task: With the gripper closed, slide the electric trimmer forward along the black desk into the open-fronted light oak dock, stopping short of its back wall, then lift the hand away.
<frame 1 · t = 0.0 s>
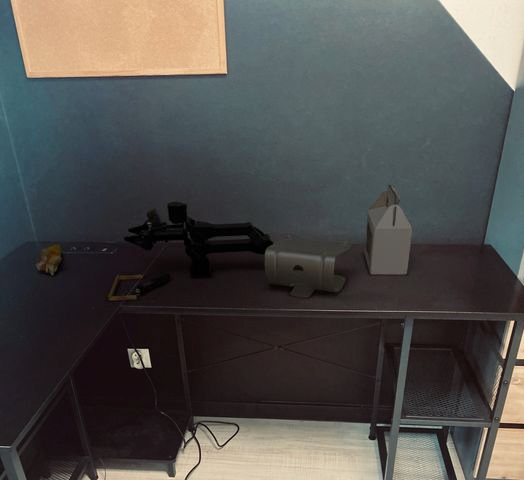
hand: (126, 234, 189), 17 cm above the table, tool horizontal, fingers open, 9 cm apart
gable box: (384, 264, 204), on the table
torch: (55, 265, 210), on the table
dock: (127, 288, 189), on the table
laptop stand: (307, 285, 189), on the table
electric trimmer: (152, 287, 189), on the table
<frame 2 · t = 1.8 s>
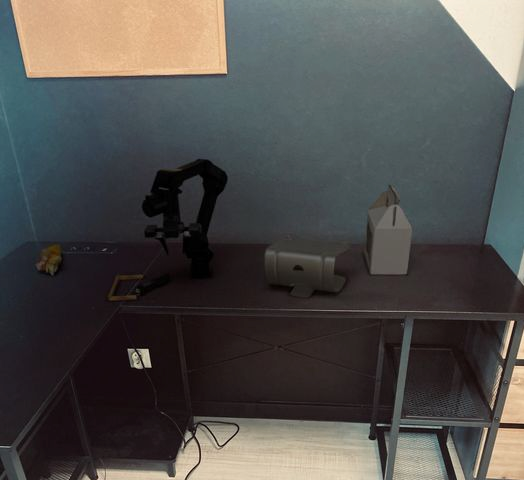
hand: (175, 254, 184), 12 cm above the table, tool pointing down, fingers open, 5 cm apart
nothing on the table moved.
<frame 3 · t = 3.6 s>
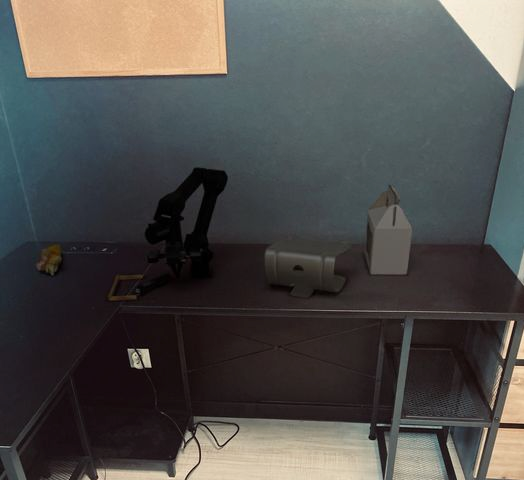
hand: (177, 278, 188), 3 cm above the table, tool pointing down, fingers closed
nothing on the table moved.
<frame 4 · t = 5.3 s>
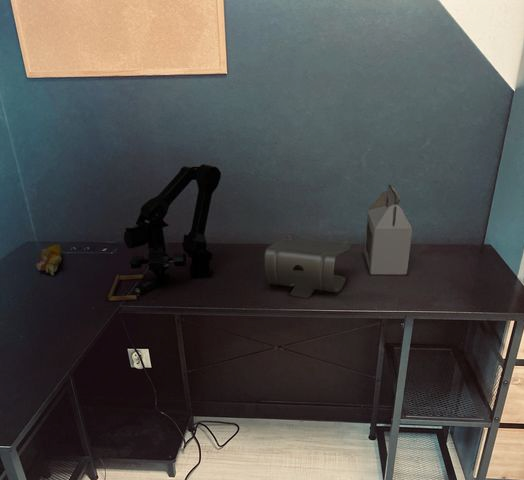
hand: (161, 283, 189), 1 cm above the table, tool pointing down, fingers closed
electric trimmer: (152, 287, 189), on the table, touching gripper
everything else where it was.
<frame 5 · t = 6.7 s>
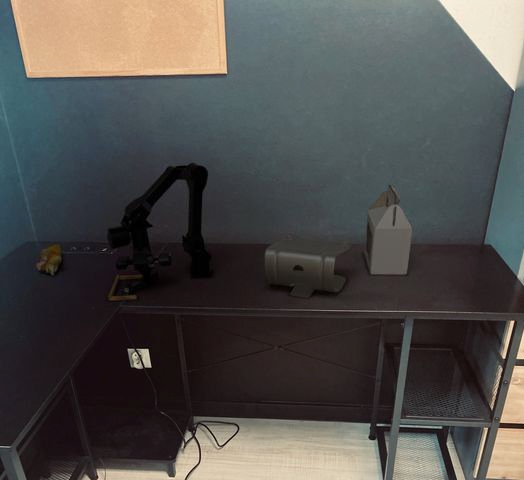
hand: (148, 283, 189), 1 cm above the table, tool pointing down, fingers closed
electric trimmer: (141, 287, 190), on the table, touching gripper
everything else where it was.
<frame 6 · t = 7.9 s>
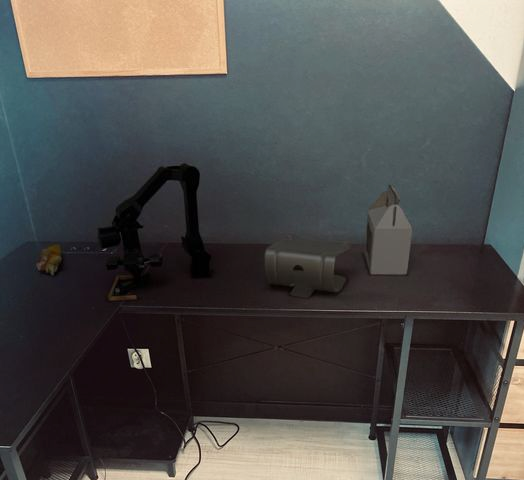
hand: (139, 284, 189), 1 cm above the table, tool pointing down, fingers closed
electric trimmer: (133, 287, 190), on the table, touching dock, gripper
everything else where it was.
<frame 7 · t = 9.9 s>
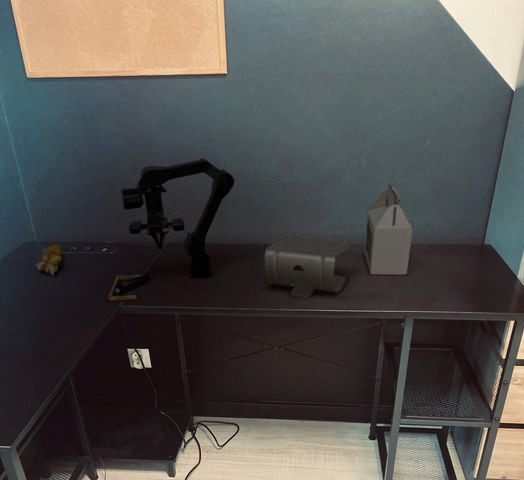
hand: (160, 249, 189), 12 cm above the table, tool pointing down, fingers closed
electric trimmer: (133, 287, 190), on the table
everything else where it was.
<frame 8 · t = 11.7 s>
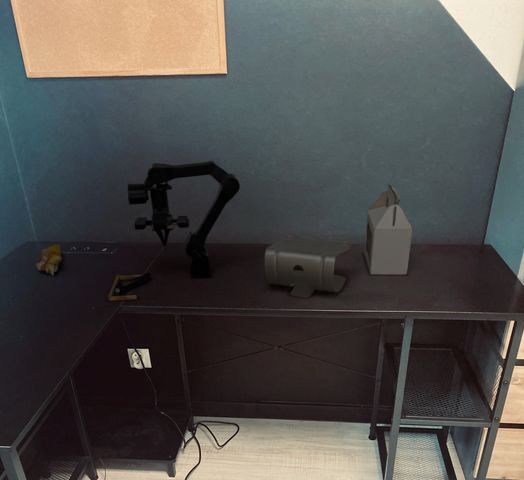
hand: (165, 245, 191), 12 cm above the table, tool pointing down, fingers closed
nothing on the table moved.
at the end: electric trimmer 1.7 cm off-centre on the dock, point 0.0 cm above the dock's base; electric trimmer moved 7.3 cm from its start; electric trimmer tilted 0° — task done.
